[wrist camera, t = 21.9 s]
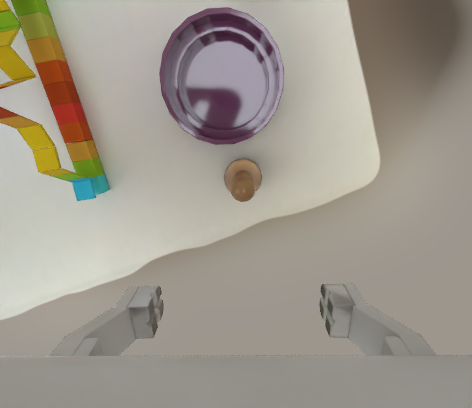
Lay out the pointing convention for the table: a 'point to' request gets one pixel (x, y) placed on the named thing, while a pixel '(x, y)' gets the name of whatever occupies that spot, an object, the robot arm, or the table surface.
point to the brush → (243, 179)
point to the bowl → (221, 76)
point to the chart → (49, 97)
